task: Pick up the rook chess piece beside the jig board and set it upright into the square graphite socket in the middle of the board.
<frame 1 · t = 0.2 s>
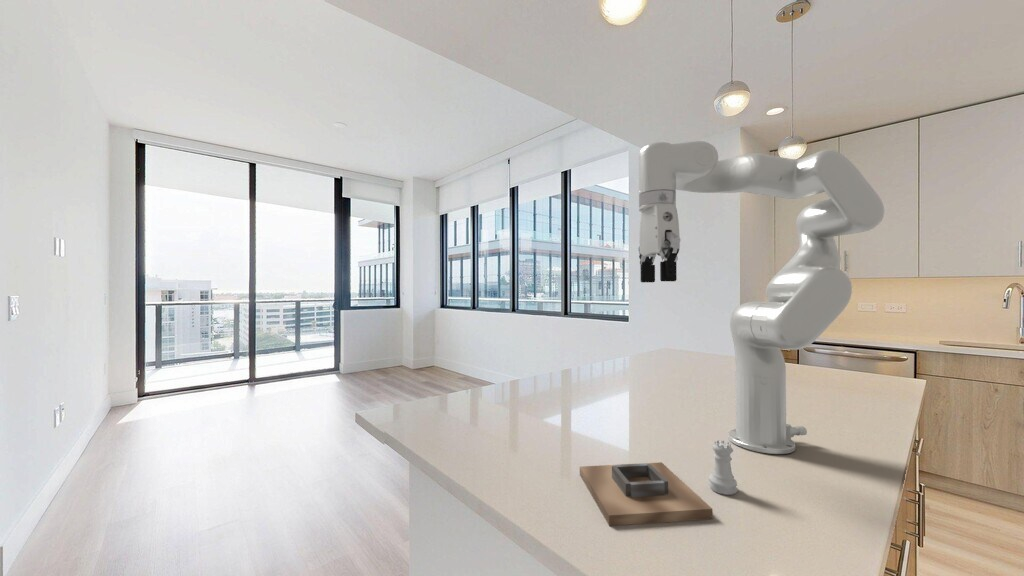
hand: (657, 281, 85), 36 cm above the table, tool pointing down, fingers open, 9 cm apart
jig board: (638, 494, 66), on the table
rook chess piece: (722, 490, 68), on the table
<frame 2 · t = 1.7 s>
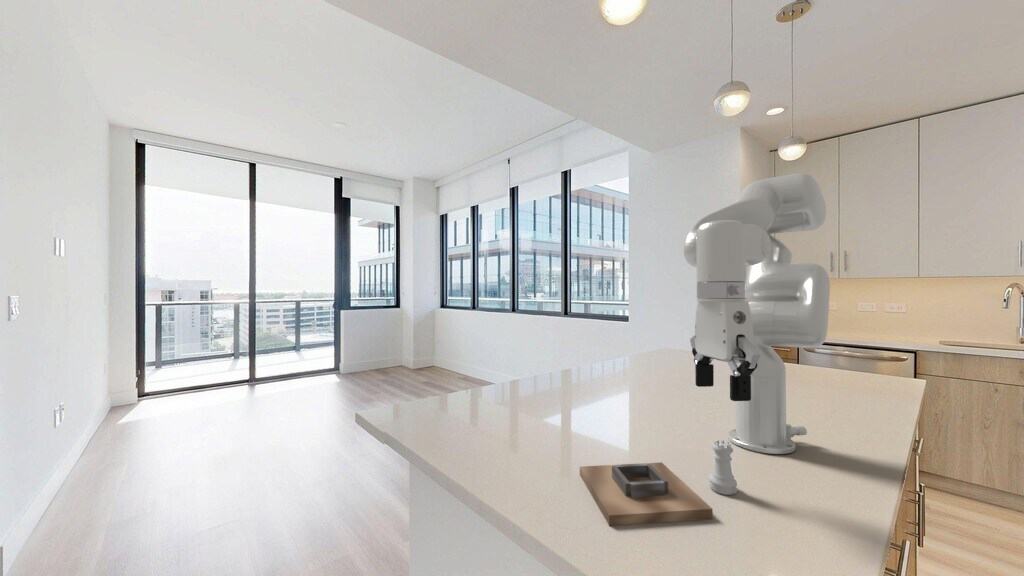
hand: (721, 392, 67), 17 cm above the table, tool pointing down, fingers open, 9 cm apart
nothing on the table moved.
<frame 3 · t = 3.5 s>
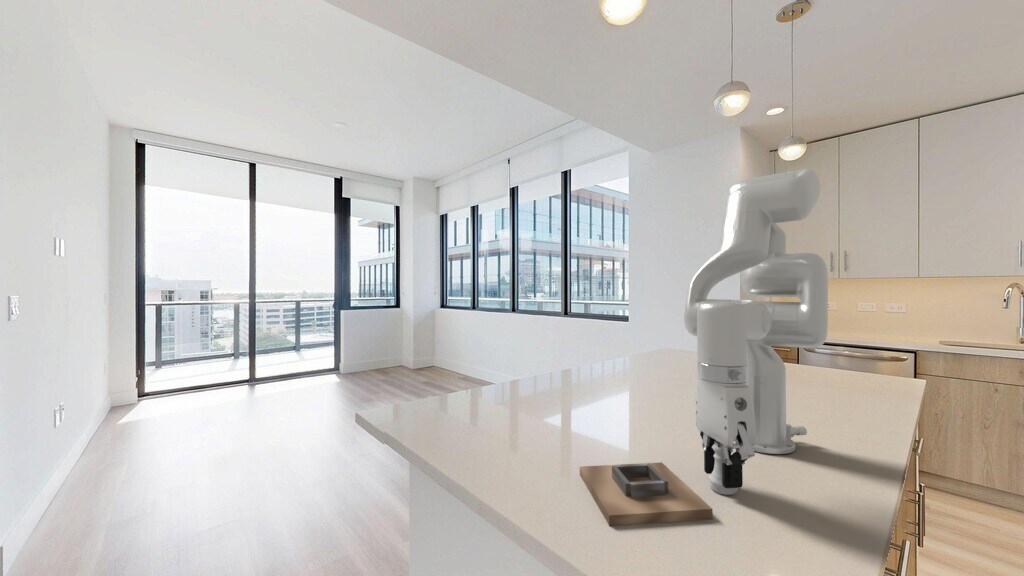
hand: (722, 478, 68), 2 cm above the table, tool pointing down, fingers closed on rook chess piece, 4 cm apart
rook chess piece: (722, 490, 68), on the table, touching gripper
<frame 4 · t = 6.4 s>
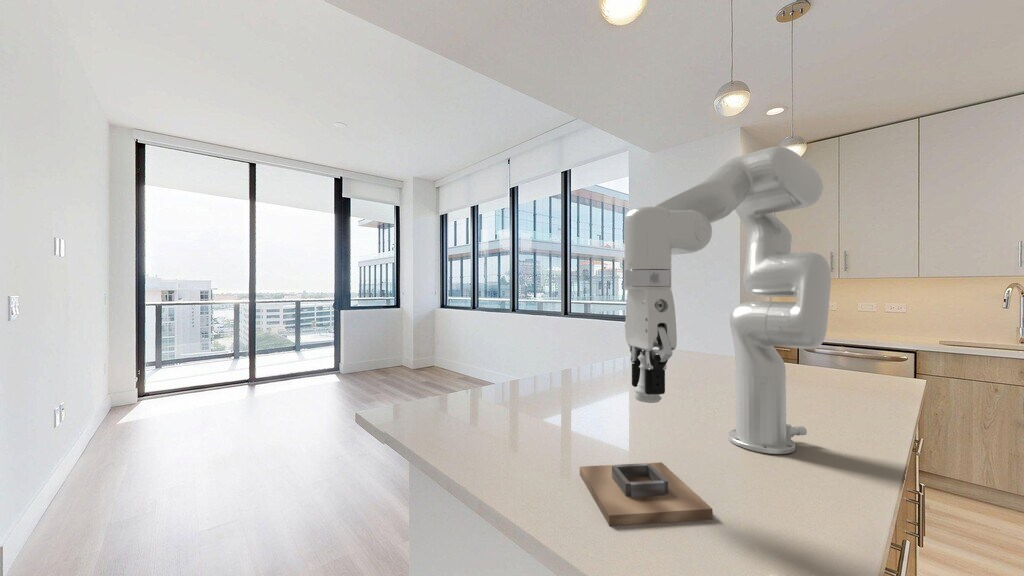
hand: (647, 388, 66), 18 cm above the table, tool pointing down, fingers closed on rook chess piece, 4 cm apart
rook chess piece: (647, 400, 66), point 16 cm above the table, touching gripper
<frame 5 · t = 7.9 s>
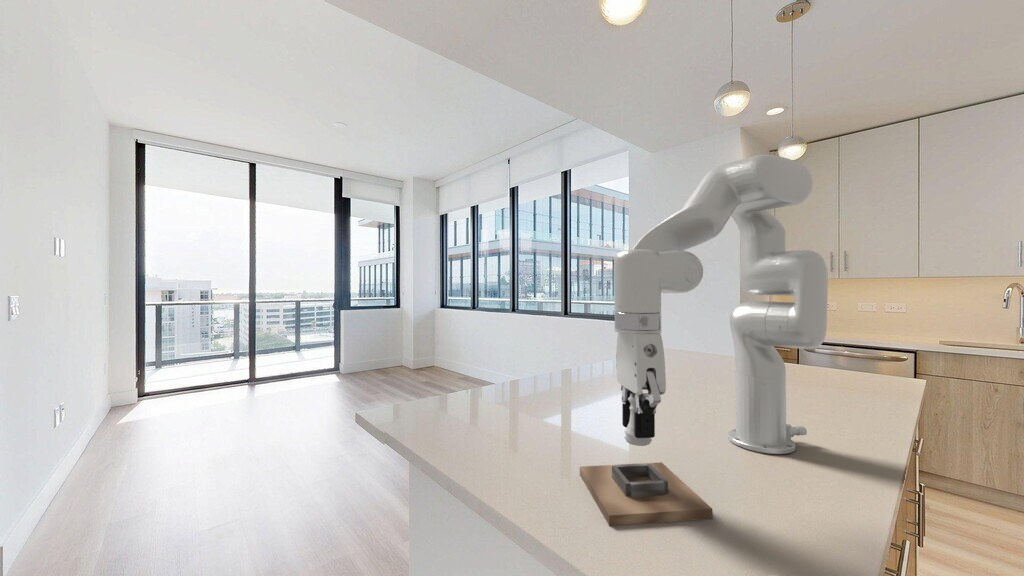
hand: (637, 430, 66), 11 cm above the table, tool pointing down, fingers closed on rook chess piece, 4 cm apart
rook chess piece: (637, 442, 66), point 9 cm above the table, touching gripper
when the fingers open (4 cm above the table, at t = 9.4 s): rook chess piece stays where it is, resting on jig board.
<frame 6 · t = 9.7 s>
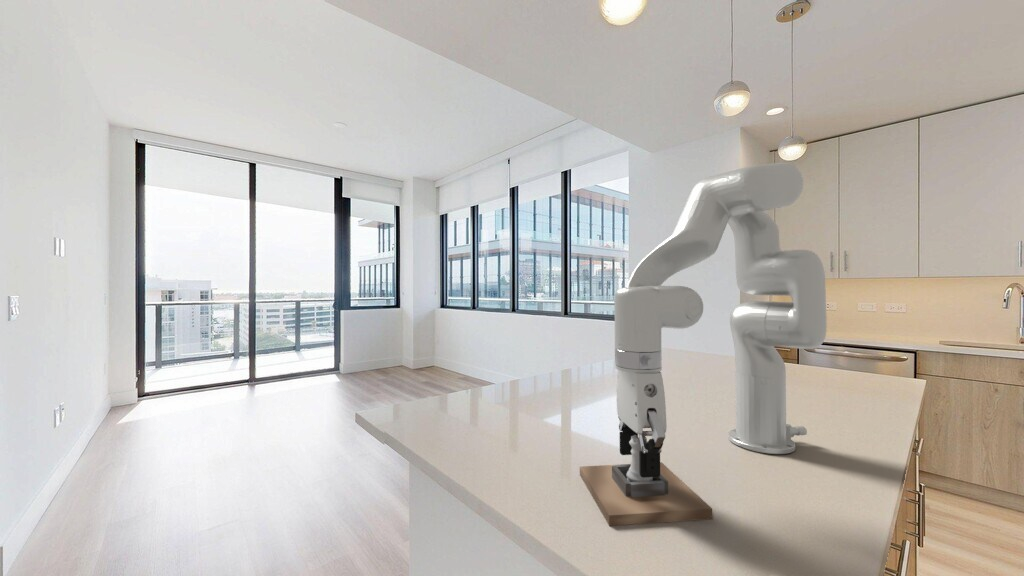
hand: (638, 463, 66), 5 cm above the table, tool pointing down, fingers open, 7 cm apart
rook chess piece: (639, 486, 66), point 1 cm above the table, touching jig board
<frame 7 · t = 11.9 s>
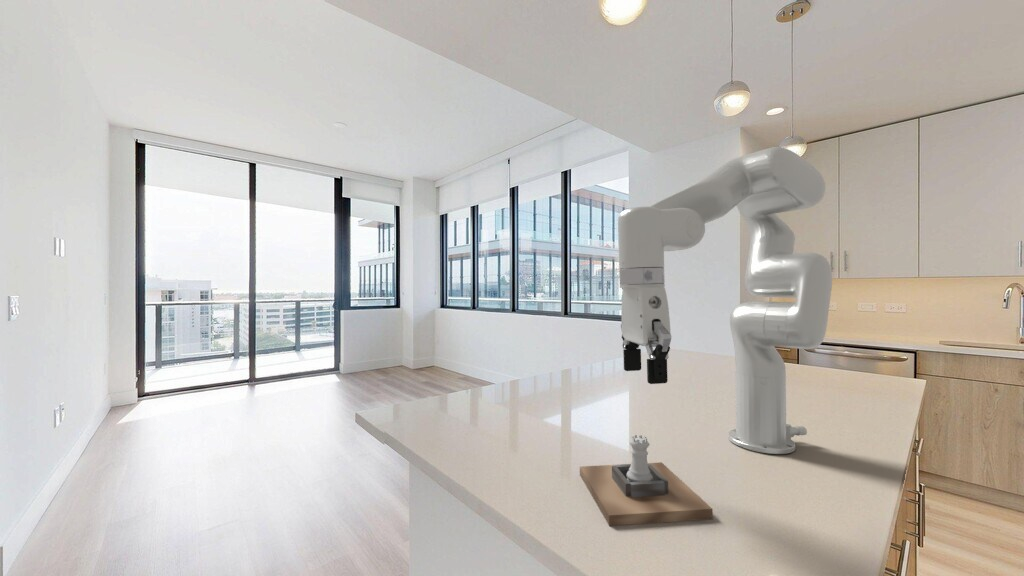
hand: (644, 376, 69), 19 cm above the table, tool pointing down, fingers open, 9 cm apart
nothing on the table moved.
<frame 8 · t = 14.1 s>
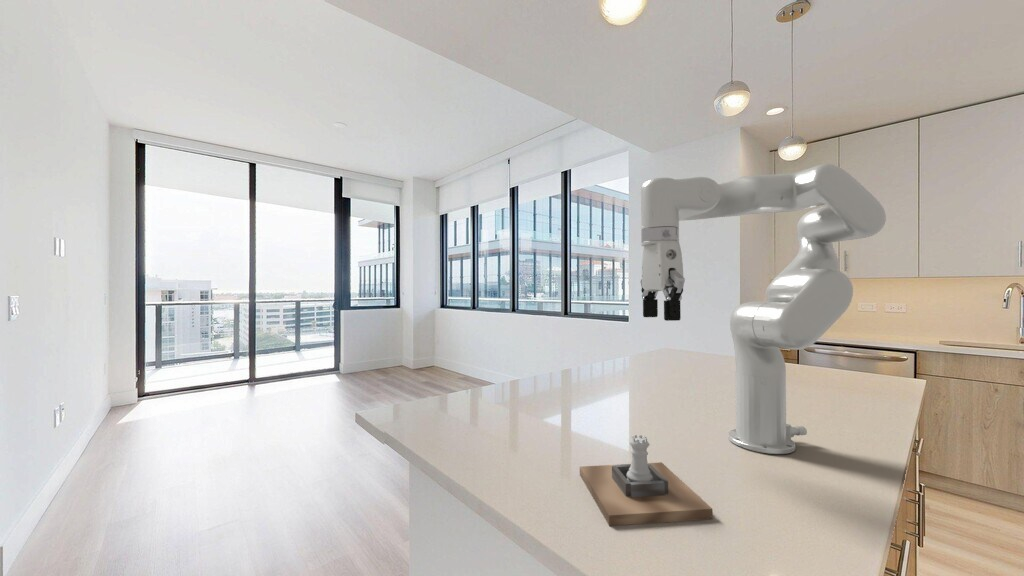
hand: (660, 318, 83), 28 cm above the table, tool pointing down, fingers open, 9 cm apart
nothing on the table moved.
at the end: rook chess piece 0.2 cm off-centre on the jig board, point 1.3 cm above the jig board's base; rook chess piece tilted 0°; the gripper is holding nothing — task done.
